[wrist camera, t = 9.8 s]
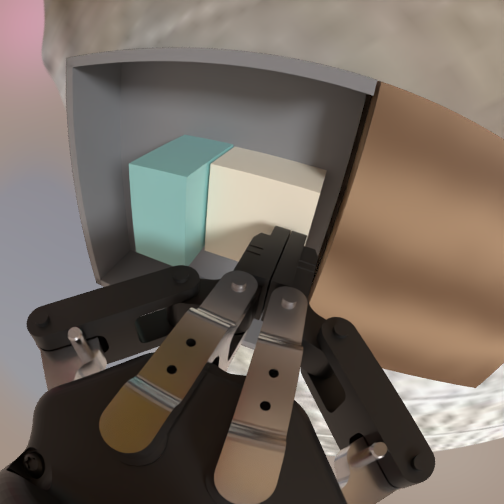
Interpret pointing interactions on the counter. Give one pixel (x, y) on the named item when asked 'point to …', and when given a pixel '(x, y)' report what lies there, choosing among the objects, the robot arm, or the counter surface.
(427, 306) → the walnut board
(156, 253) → the upright aqua block
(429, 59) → the counter surface
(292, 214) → the ivory matte cuboid
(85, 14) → the counter surface
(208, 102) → the tray
